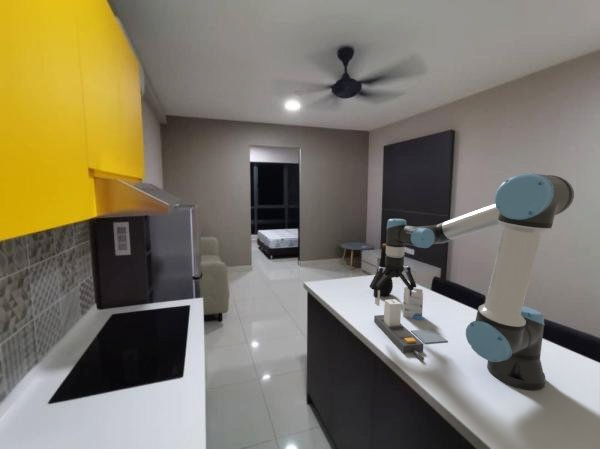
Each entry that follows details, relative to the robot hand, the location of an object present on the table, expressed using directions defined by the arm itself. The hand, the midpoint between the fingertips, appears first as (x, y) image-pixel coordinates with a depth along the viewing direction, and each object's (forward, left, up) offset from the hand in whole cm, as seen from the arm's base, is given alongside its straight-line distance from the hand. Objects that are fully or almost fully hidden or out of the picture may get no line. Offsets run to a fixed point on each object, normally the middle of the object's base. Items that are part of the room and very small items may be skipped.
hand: (392, 303), depth 121 cm
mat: (-7, -13, -12) cm, 19 cm away
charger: (0, 0, -9) cm, 9 cm away
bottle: (+42, -16, -12) cm, 46 cm away
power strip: (-7, 0, -12) cm, 14 cm away
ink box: (+12, -17, -12) cm, 24 cm away
